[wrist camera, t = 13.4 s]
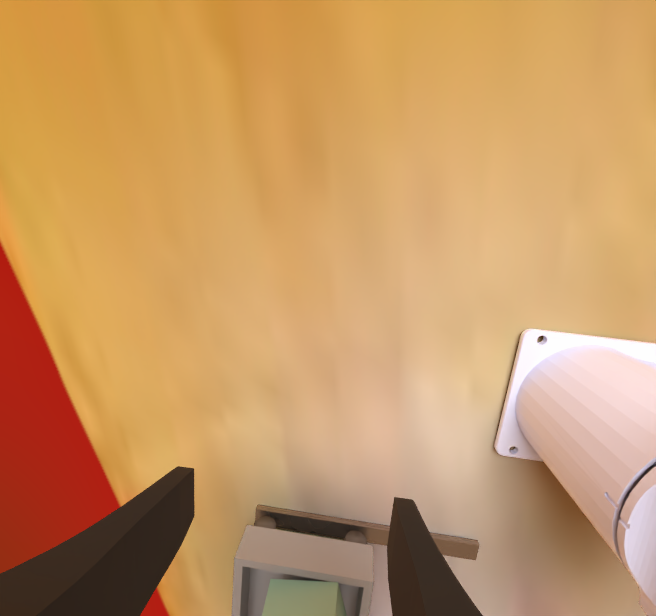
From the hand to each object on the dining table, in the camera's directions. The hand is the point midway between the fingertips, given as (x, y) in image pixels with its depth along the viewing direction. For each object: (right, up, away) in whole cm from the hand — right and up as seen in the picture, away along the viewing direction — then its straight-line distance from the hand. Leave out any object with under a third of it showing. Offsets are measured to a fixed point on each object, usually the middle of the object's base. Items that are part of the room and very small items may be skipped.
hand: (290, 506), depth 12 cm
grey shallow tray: (0, -12, +13) cm, 18 cm away
